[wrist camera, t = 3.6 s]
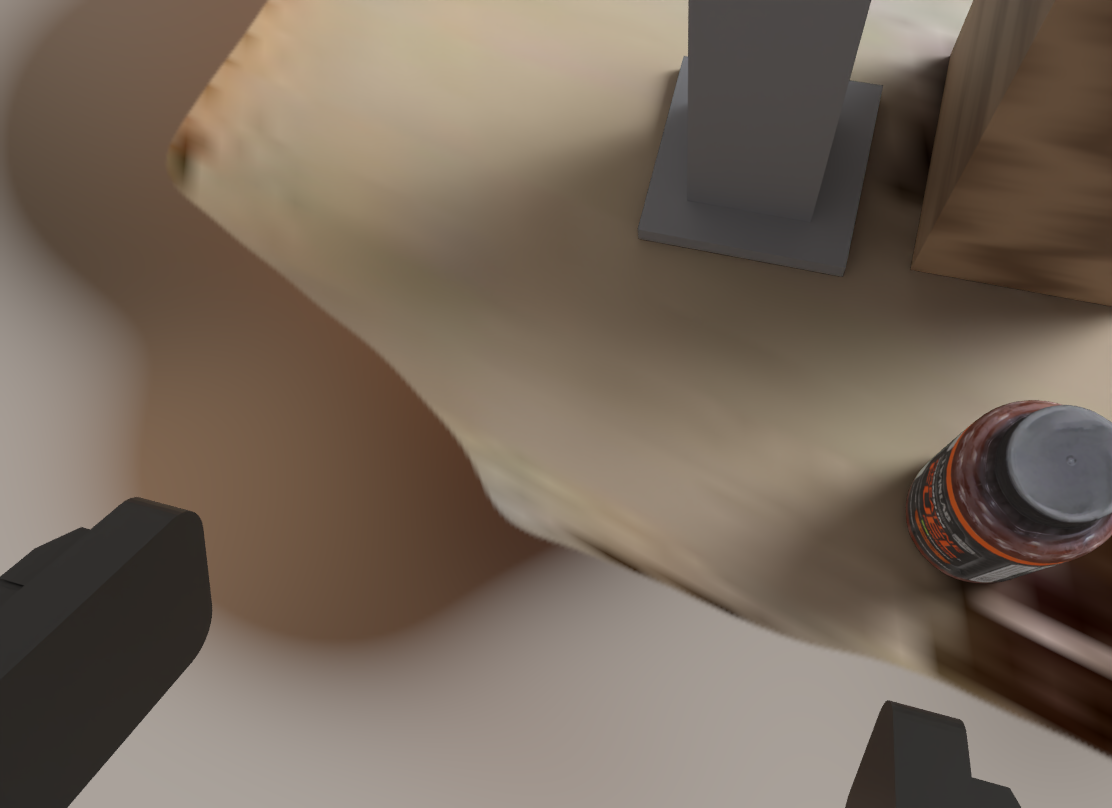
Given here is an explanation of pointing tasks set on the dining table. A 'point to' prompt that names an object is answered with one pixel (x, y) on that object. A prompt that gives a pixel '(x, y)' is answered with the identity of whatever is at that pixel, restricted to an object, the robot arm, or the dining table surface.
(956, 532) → the supplement bottle
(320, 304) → the dining table surface
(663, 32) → the dining table surface
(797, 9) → the tall stand
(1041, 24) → the tan upright box
